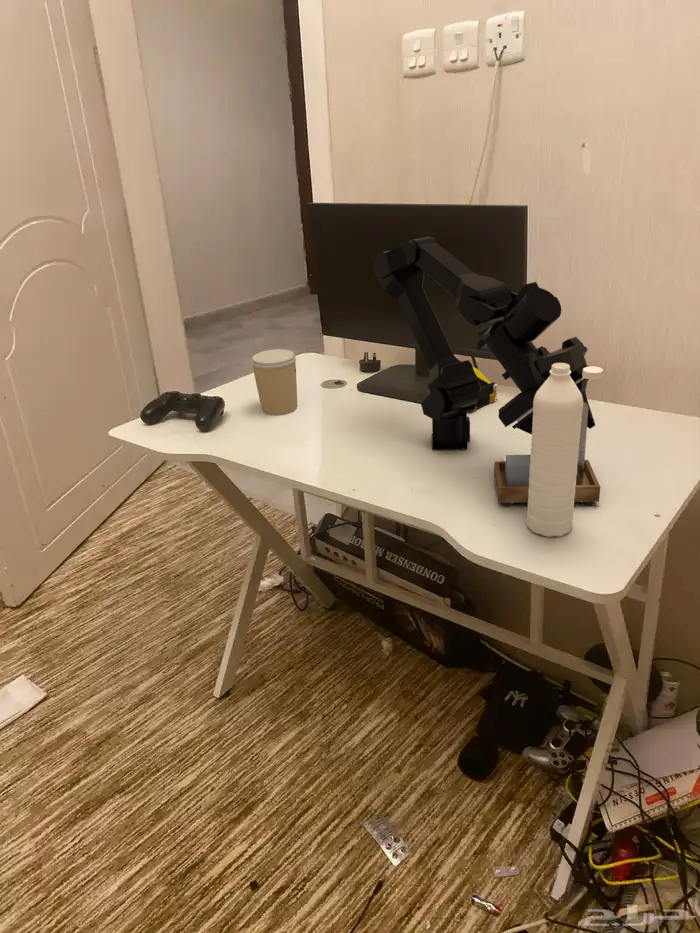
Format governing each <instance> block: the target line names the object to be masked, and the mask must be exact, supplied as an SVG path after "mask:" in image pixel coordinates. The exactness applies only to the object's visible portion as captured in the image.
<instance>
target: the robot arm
mask: <svg viewBox="0 0 700 933" xmlns="http://www.w3.org/2000/svg"><path fill="white" fill-rule="evenodd" d="M372 269H373V274H374V276H375V278H376V279H377V281H378V282H379V284H380V287H381V288H382V289H383V291H385V293H387V294H388V295H390V296H392V297H393V298H394V299H395V300H396V301H398V303H399V306H400V308H401V309H402V312H403V314H404V317H405V318H406V321H407V323H408V325H409V327H410V329H411V331H412V334H413V336H414V338H415V340H416V343H417V344H418V347H419V349H420V351H421V353H422V355H423V358H424V359H425V362H426V364H427V366H428V370H429V374H428V382H427V388H428V390H429V391H430V394H429V393H428V395H427V396H426V397H425V399H423V401H422V402H421V409H422V413H423V415H424V416H426V417H428V418H430V419H431V423H432V424H431V425H432V426H431V427H432V429H431V430H432V433H431V450H432V451H443V450H444V451H447V450H449V451H451V450H452V451H453V450H455V451H456V450H468V448H469V447H468V446H469V445H468V443H470V442H471V418H470V417H469V416H468V412H473V411H476V410H475V408H476V405H477V402H478V399H479V395H480V392H481V389H480V385H479V382H478V380H479V378H478V377H477V375H476V374H475V372H474V370H473V367H474V366H473V365H472V364H473V363H471V362H470V360H468V359H466V360H462V361H461V360H460V359H458V358H457V357H456V355H454V352H453V350H452V348H451V345H450V344H449V342H448V339H447V337H446V335H445V333H444V331H443V327H442V326H441V324H440V322H439V320H438V318H437V315H436V313H435V312H434V309H433V307H432V305H431V303H430V301H429V299H428V296H427V294H426V292H425V290H424V279H425V274H426V275H427V276H428V277H430V278H431V279H432V280H433V281H435V282H436V283H437V284H439V286H440V287H442V288H443V289H444V290H445V291H446V292H448V293H449V294H450V295H451V296H452V297H453V298H454V299H455V302H456V303H455V304H456V309H457V310H458V312H459V313H460V314H461V316H463V318H464V319H465V320H466V322H468V323H469V324H470V325H472V326H474V327H476V326H482V325H485V324H489V323H493V322H494V323H493V324H492V325H491V326H490V327H489V328H488V327H487V328H484V329H483V330H480V331H479V332H478V333H477V336H478V339H477V344H476V349H478V351H481V350H482V349H484V348H486V347H488V348H489V350H490V351H491V352H492V354H493V355H494V357H495V358H496V360H497V361H498V362H499V363H500V365H501V366H502V367H503V369H504V370H505V372H503V373H502V374H501V376H502V377H503V379H504V381H507V380H508V379H511V380H512V382H513V383H514V384H515V385H516V387H517V388H518V389H519V391H520V393H518V394H517V395H515V396H514V397H513V398H511V400H509V401H507V403H505V404H504V405H502V407H500V408H498V419H499V420H500V421H501V423H502V424H503V426H504V427H505V428H507V427H509V426H511V425H512V424H513V423H514V424H513V425H512V426H511V427H512V428H513V429H514V430H515V429H519V430H520V431H523V432H525V433H527V434H530V435H531V436H532V426H533V425H532V422H533V401H534V397H535V394H536V392H537V391H538V390H539V388H540V387H541V386H542V385H543V383H544V382H545V381H546V380H547V379H548V377H549V376H550V375H551V373H550V370H551V367H552V365H553V364H555V363H566V364H568V365H569V366H570V368H569V369H570V371H571V373H570V377H571V378H572V380H573V381H574V383H575V384H576V386H577V388H578V389H579V391H580V392H581V394H582V397H583V402H585V403H587V404H588V420H587V429H592V428H594V427H595V426H596V422H595V418H594V417H593V413H592V409H591V407H590V403H589V401H588V396H587V393H586V392H587V391H586V389H587V385H588V381H589V380H590V379H586V378H584V377H582V373H583V368H585V367H589V366H588V365H587V361H586V358H585V355H586V353H587V352H588V348H587V346H585V345H584V343H583V342H582V341H581V340H580V339H579V338H578V337H577V336H574V337H570V338H567V339H566V340H563V341H562V343H561V348H559V349H557V350H555V351H549V350H548V349H547V348H546V347H545V346H540V347H538V348H537V347H536V345H535V344H534V343H533V341H535V340H536V339H537V338H539V337H540V336H541V335H542V334H543V333H544V332H545V331H547V330H548V328H550V327H551V325H553V324H554V323H555V322H556V321H557V320H558V319H559V318H560V317H561V315H562V306H561V303H560V300H559V298H558V297H557V296H555V295H554V294H553V293H551V292H550V291H549V290H546V289H545V288H541V287H539V285H538V282H536V281H533V282H529V283H525V284H524V285H523V286H522V287H521V289H520V290H519V292H518V293H517V292H514V291H512V289H511V288H510V287H509V285H507V284H506V283H504V282H502V281H500V280H498V279H496V278H494V277H491V276H485V275H482V274H481V275H480V274H479V273H475V272H474V271H473V270H471V269H470V268H469V267H467V266H466V265H465V264H464V263H462V262H461V261H460V260H459V259H457V258H456V257H455V256H454V255H453V254H451V253H450V252H449V251H447V250H446V249H445V248H443V247H442V246H441V245H439V243H438V240H436V238H435V237H431V236H425V237H420V238H414V239H410V240H408V241H407V242H405V243H404V244H403V245H401V246H397V247H396V248H393V249H392V250H386V251H380V252H379V253H378V254H377V255H376V257H375V259H374V261H373V265H372ZM429 391H428V392H429ZM515 422H516V423H515Z"/></svg>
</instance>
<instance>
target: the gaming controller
mask: <svg viewBox="0 0 700 933" xmlns="http://www.w3.org/2000/svg"><path fill="white" fill-rule="evenodd" d="M472 367H473V370H474V372H475V374H476V375H477V377H478V378H479V380H478V382H479V385H480V389H481V392H480V395H479V399H478V402H477V405H476V408H475V410H474V411H476V410H478V409H480V408H481V407H484V406H486V405H488V404H490V403H494V402H495V399H496V398H497V393H498V392H497V391H498V390H497V388H498V386H499V385H498V383H496V382H492V381H491V382H490V380H489V379H488V378H487V377H486V376H485V375H484V374H483V373H482V372H481V371H480V369H478V368H476V367H474V366H472ZM429 394H430V391H429V389H428V395H429Z"/></svg>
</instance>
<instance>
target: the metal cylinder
mask: <svg viewBox="0 0 700 933" xmlns="http://www.w3.org/2000/svg"><path fill="white" fill-rule="evenodd" d="M587 420H588V404H587V403H585V402H583V411H582V420H581V431H580V442H579V454H578V464H577V476H576V485H582V484H583V475H584V461H585V460H586V458H585V457H586V444H587V432H588V430H587V429H588V427H587Z"/></svg>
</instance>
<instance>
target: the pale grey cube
mask: <svg viewBox="0 0 700 933" xmlns="http://www.w3.org/2000/svg"><path fill="white" fill-rule="evenodd" d="M505 461H506V462H505V480H506V485H507V486H529V477H530V463H531V461H530V454H506V455H505Z"/></svg>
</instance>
